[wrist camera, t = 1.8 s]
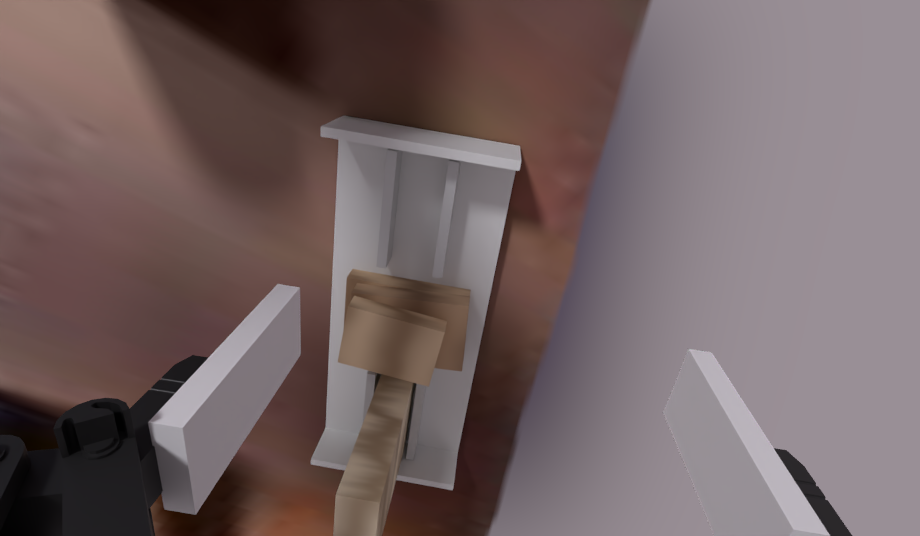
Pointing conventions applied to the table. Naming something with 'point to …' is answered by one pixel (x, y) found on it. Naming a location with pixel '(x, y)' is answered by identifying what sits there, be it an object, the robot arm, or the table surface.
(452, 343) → the offcut middle
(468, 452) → the table surface
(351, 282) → the offcut bottom
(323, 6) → the table surface
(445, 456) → the rack
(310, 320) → the table surface
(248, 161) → the table surface
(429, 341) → the offcut top
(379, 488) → the tan wooden block
